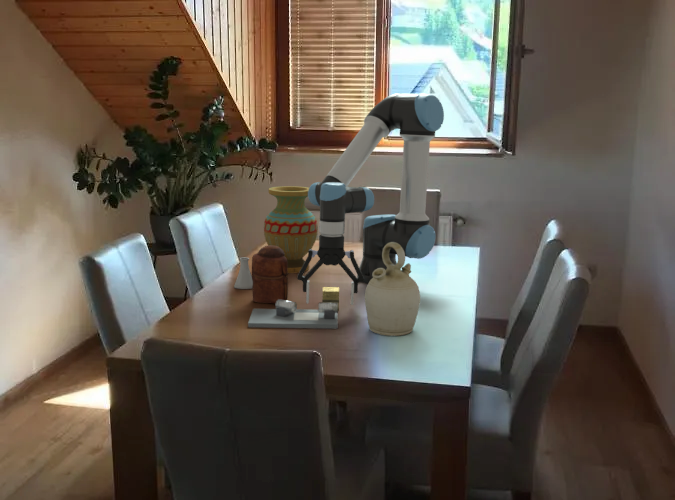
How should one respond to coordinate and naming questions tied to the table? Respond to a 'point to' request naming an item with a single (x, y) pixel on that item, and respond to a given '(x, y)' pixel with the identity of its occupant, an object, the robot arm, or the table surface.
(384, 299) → the jug
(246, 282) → the flask
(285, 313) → the shaft
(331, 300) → the block
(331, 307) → the shaft
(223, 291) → the table surface
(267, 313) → the base plate
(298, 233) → the vase
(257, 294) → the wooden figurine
